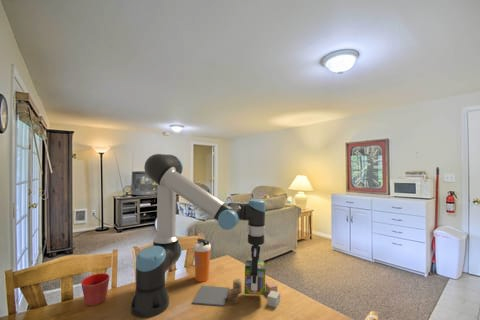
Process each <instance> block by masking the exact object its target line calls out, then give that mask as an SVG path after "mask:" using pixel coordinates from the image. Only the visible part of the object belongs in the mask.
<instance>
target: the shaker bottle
mask: <svg viewBox="0 0 480 320" xmlns="http://www.w3.org/2000/svg"><path fill="white" fill-rule="evenodd" d="M196 241H197V242H195V243H194V245H193V254H194V260H193V261H194V279H195V281H196V282H199V283H204V282H207V281H208V280H209V278H210V264H211V261H210V260H211V248H212V247H211V246H212V245H211V243H210V241H209V240H206V239H204V238H197V239H196Z"/></svg>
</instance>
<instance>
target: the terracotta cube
mask: <svg viewBox="0 0 480 320" xmlns="http://www.w3.org/2000/svg"><path fill="white" fill-rule="evenodd" d="M271 290H272V291H276V292H278V285H277V284H276V283H275V282H274V281H271V282H267V283H266V282H265V294H267V296H268V295H269V293H270V292H271Z"/></svg>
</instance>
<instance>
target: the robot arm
mask: <svg viewBox="0 0 480 320" xmlns="http://www.w3.org/2000/svg"><path fill="white" fill-rule="evenodd" d="M143 169H144V172H145V175H146V176H147V177H148V178H149V179H150V180H151V181H152V182H154V184H155V185H156V186H157V192H156V193H157V196H156V199H157V203H156V204H157V205H156V207H157V208H156V236H155V238H153V240H152V241H153V243H152V245H151V246H148V247H145V248H142V249H141V250H140V251H139V252H138V253H137V254H136V259H135V291H134V294H133V297H132V301H131V304H130V311H131V314H132V315H133V316H135V317H138V318H151V317H154V316H157V315H159V314H161V313H163V312H164V311H166V309H168V307H169V305H170V297H169V292H168V290H167V288H166V272H167V271H168V270H169V269H170V268H172V267H173V265H175V264H176V263H177V262H178V261H179V259H180V257H181V255H182V252H183V251H182V249H183V248H182V244H181V243H180V241H179V237H178V235H176V216H177V215H176V214H177V213H176V210H177V206H176V205H177V203H176V202H177V195H178V196H179V197H181V198H183V200H185V201H187V202H188V203H190V204H192V205H193V206H195V207H196V208H198V209H199V210H200V211H202V212H204V213H205V214H206V215H208V216H209V217H211V218H213V219H214V220H215V221H217V223H218V225H219V227H220V229H223V230H226V231H228V230H232V229H234V228H235V227H236V226H237V225H238V223H239V221H246V222H247V221H248V223H247V242H248V244H249V245H251V247H250V253H251V261H252V271H251V274H250V275H251V290H257V282H258V274H257V270H258V261H260V252H261V245H263V244H264V243H265V230H267V228H266V225H265V223H266V202H265V201H264V200H262V199H257V198H255V199H249V200H248V203H238V202H237V203H235V202H224V201H222V200H220V199H219V198H217V197H216V196H214V194H212V193H210V192H208V191H207V190H206V189H204V188H202V187H201V186H199V185H197V184H196V183H194V182H193V181H192V180H190V179H189V178H187V177H186V176H184V175H183V174H182V173H183V170H184V165H183V162H182V160H181V159H180V158H179V157H178V156H176V155H173V154H161V153H156V154H152V155H150V156H149V157H148V158H147V159H146V161H145V162H144V168H143Z"/></svg>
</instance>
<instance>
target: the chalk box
mask: <svg viewBox="0 0 480 320" xmlns="http://www.w3.org/2000/svg"><path fill="white" fill-rule="evenodd" d="M251 271H252V260H250V259H249V260H245V266H244V290H243V291H244V295H255V296H256V295H257V296H266V264H265V261H263V260H259V261H258V270H257V274H258V282H257V290H251V275H250V274H251Z"/></svg>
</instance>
